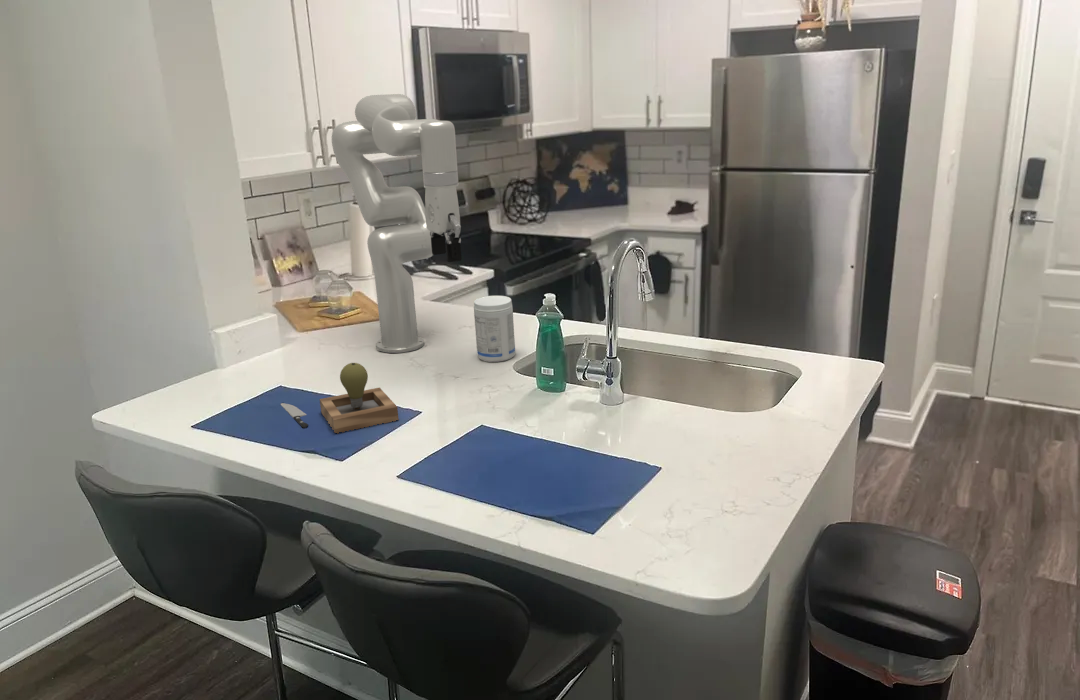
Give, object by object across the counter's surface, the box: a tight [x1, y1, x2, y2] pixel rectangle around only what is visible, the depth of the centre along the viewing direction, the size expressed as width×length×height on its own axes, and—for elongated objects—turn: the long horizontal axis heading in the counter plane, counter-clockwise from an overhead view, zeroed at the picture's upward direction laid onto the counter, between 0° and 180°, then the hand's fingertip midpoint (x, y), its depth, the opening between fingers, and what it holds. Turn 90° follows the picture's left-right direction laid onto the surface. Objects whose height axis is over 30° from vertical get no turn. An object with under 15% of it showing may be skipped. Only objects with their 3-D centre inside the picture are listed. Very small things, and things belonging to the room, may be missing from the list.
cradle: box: [319, 387, 400, 434], centre depth 168 cm, size 13×13×3 cm
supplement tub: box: [473, 295, 516, 363], centre depth 200 cm, size 10×10×15 cm
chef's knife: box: [280, 402, 309, 429], centre depth 171 cm, size 19×1×3 cm
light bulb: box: [339, 362, 369, 409], centre depth 167 cm, size 6×6×10 cm
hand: (446, 257), depth 181 cm, fingers open, 9 cm apart
